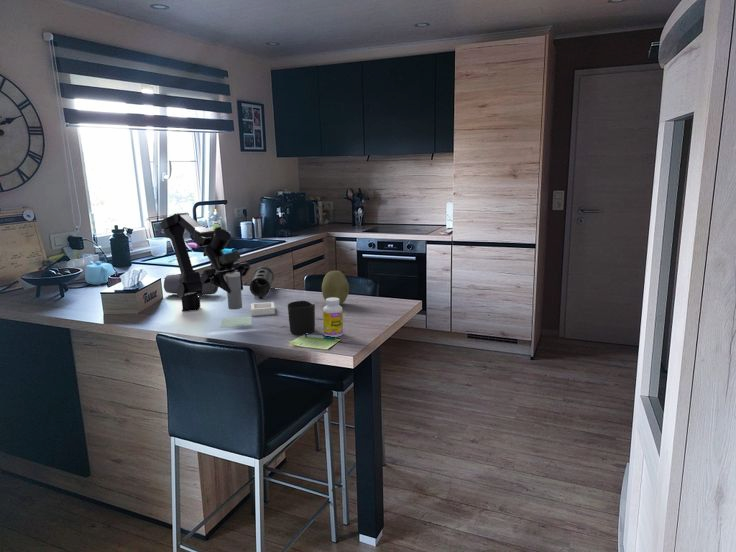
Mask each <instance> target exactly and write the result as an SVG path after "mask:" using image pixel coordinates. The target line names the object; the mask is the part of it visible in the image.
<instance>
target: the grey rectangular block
mask: <svg viewBox="0 0 736 552" xmlns="http://www.w3.org/2000/svg"><path fill="white" fill-rule="evenodd" d="M225 281H226V283H227V285H228V287H229V288H230V291H231V292H230V293H228V292H226V293H227V295H226V296H227V305H228V306H227V309H228V310H240V309H242V308H243V298H242V295H243V294H242V290H241V281H240V272H229V273H226V275H225Z"/></svg>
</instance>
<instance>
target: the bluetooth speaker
mask: <svg viewBox="0 0 736 552" xmlns="http://www.w3.org/2000/svg"><path fill="white" fill-rule="evenodd" d="M180 275H181V273H180V274H179V273H178V274H168V275H165V277H164V280H163V289H164V291H165V292H166V293H167V294H176V295H177V292H176V290H177V288H178V286H179V285H180V283H179V278H180ZM201 275H202V274H200V277H201ZM210 279H211V278H210ZM211 282H212V280H211V281H210V283H208V284H203V287H202V293H201V294H198V296H202V295H203V296H204V295H206V296H207V295H216V293H217V292H218V291H219V290H218V289H219V287H218V286H216V285H214V284H211ZM203 296H202V297H203Z"/></svg>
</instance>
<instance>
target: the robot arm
mask: <svg viewBox="0 0 736 552" xmlns="http://www.w3.org/2000/svg"><path fill="white" fill-rule="evenodd" d="M160 224H161V225H160V227H161V228H162V230H163V233H164V235H165V236H167V238H169V239H170V241H171V244H172V248H173V251H174V253H175V258H176V261H177V265H178V269H179V271H180V274H181V275H180V278H179V283H180V285H179V286H178V288H177V290H176V292H177V294H176V295H177V296H178V297H181V307H182V308H181V312H191V311H192V312H193V311H199V309H200V308H201V297H198V294H201V293H202V287H203V284H208V283H210V281H211V280H212V282H211V284H214V285H216V286H218V288H220V289H221V290H223V291H225V292H226V293H227V292H228V293H230V292H231V291H230V288H229V287H228V285H227V283H226V279H225V278H224V277H226V273H229V272H240V281H241V291H244V285H243V284H244V283H243V277H245V276H247V274H248V273H249V271H250V269H251V265H250V264H249V262H241V263H238V264H237V266H236V267H235V268H234V266H235V262H238V261H239V259H241V257H242V256H241V253H240V252H239V251H238V250H234V251H232V252H227V253H224V252H223V250H225V249H226V248H227V245H228V244H229V241H230V239H231V237H232V236H231V233H230V232H228V231H227V230H225V229H223V228H222V227H221V226H218V227H217V226H216V227H215V228H214V230H213V229H211V228H209V227H204V226H202V224H200V223H199V222H198V221H196V220H195V219H194V218H193V217H192V216H190V214H189V212H186V211H184V212H183V211H182V212H175V213H173V215H170V216H167V217H164V218H163V219H162V220H161V223H160ZM185 231H187V232H189V234H190V235H192V237H193V241H194V243H195V244H196V245H197V246H198V247H201V248H202V247H205V249H203V252H202V253H203V257H207V259H208V260H209V262H210V268H207V269H204V270H203V272H202V274H200V272H199V271H195V269H194V268H193V265H192V262H191V259H190V255H189V252H188V249H187V245H186V241H185V239H184V235H185ZM200 275H201V277H200ZM210 278H211V279H210Z"/></svg>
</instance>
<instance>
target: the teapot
mask: <svg viewBox="0 0 736 552" xmlns="http://www.w3.org/2000/svg"><path fill="white" fill-rule="evenodd" d="M89 263H90V264H87V265H85V270H84V271H85V272H84V278H85V281H86V283H87V284H90V285H95V286H101V284H108V283H107V280H108V277H109V276H110V275H112V274H115V275H116V273H115V270H114V266H113V264H111V263H108V262H102V261H101V260H100V261H95V262H94V261H92V260H90V261H89Z"/></svg>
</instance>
